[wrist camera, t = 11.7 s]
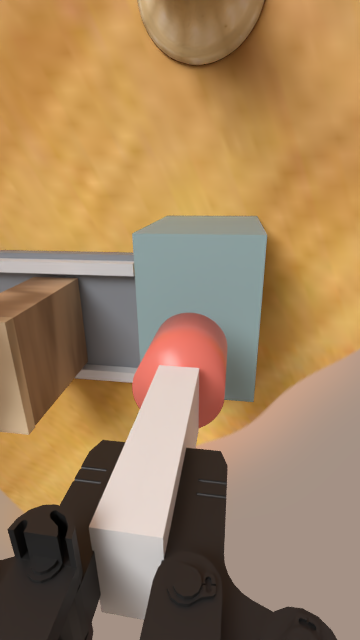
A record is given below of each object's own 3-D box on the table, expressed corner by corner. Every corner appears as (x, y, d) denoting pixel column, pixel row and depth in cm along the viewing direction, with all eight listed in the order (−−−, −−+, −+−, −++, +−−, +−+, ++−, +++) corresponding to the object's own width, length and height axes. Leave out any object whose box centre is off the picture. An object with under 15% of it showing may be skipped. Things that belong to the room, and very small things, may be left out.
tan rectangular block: (47, 359, 33) (-27, 428, 24) (33, 276, 30) (-59, 319, 21) (88, 361, 32) (28, 434, 23) (78, 277, 29) (4, 322, 20)
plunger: (156, 375, 18) (134, 426, 14) (153, 311, 17) (129, 348, 13) (225, 381, 17) (222, 434, 14) (229, 314, 16) (226, 353, 12)
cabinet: (170, 337, 32) (142, 401, 22) (167, 215, 28) (132, 233, 18) (248, 341, 31) (252, 410, 21) (256, 216, 27) (267, 235, 17)
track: (-56, 361, 37) (-72, 371, 35) (-90, 248, 32) (-110, 252, 30) (145, 376, 34) (140, 387, 32) (139, 252, 29) (132, 257, 27)
